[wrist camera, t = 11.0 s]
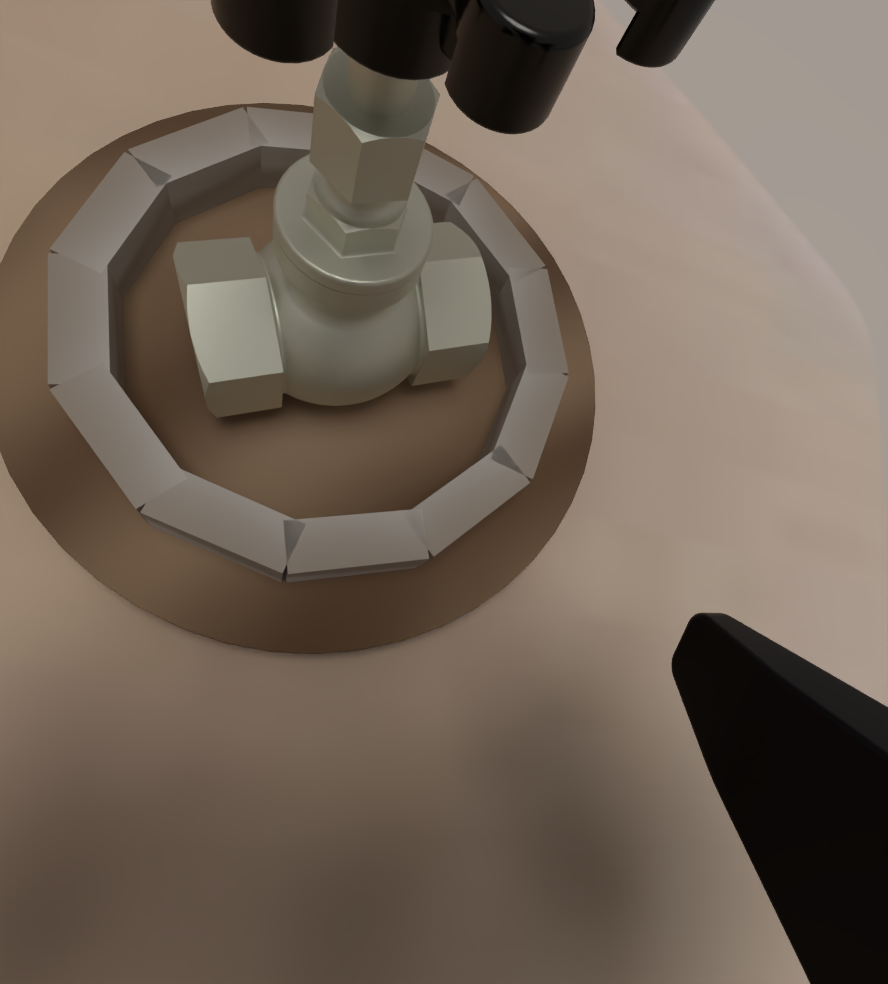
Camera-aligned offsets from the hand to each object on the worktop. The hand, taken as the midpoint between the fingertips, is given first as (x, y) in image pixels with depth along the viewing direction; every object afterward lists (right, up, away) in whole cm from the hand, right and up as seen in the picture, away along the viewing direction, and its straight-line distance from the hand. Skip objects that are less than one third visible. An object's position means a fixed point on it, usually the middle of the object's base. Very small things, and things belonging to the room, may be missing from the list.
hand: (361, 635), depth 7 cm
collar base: (-2, +5, +10) cm, 12 cm away
